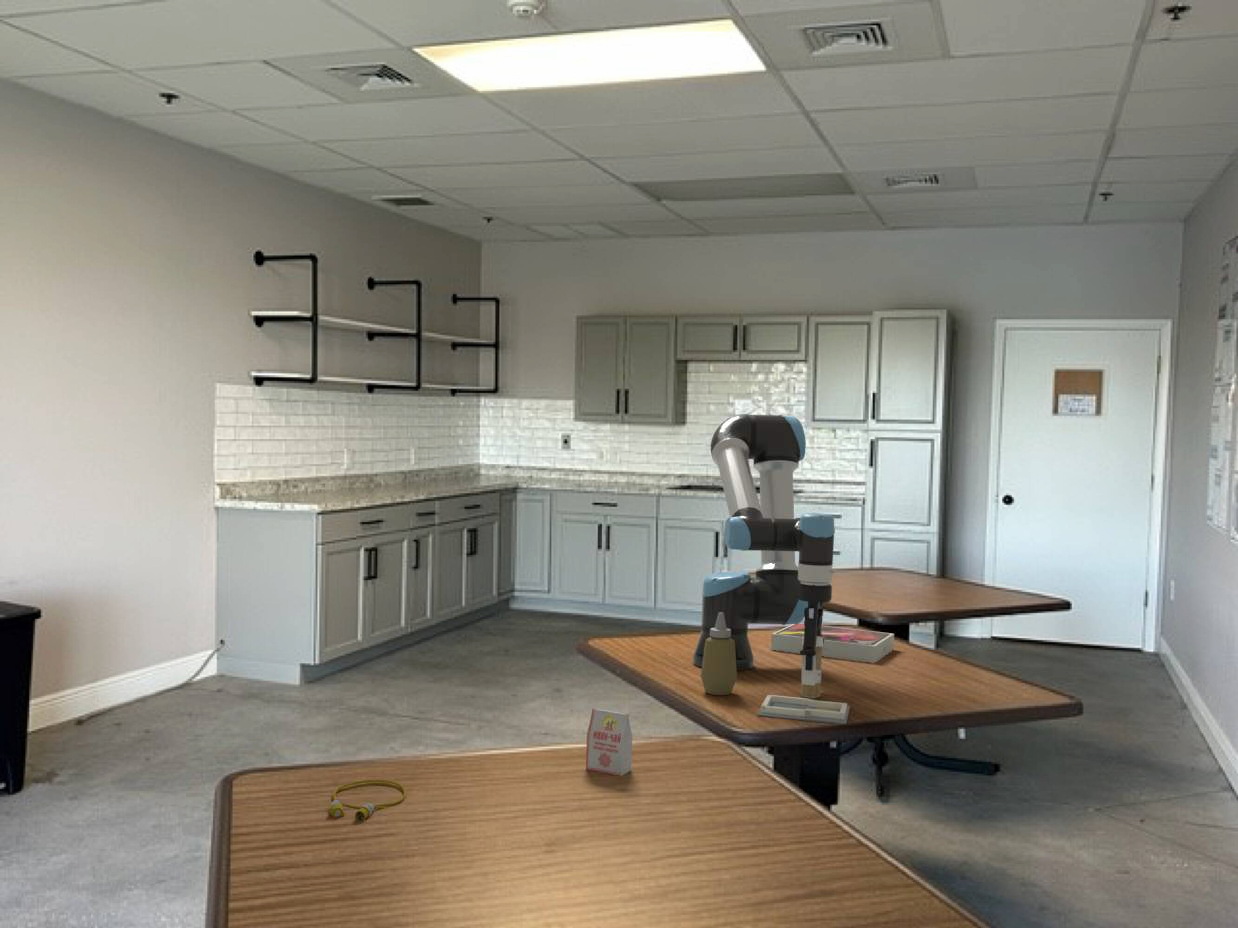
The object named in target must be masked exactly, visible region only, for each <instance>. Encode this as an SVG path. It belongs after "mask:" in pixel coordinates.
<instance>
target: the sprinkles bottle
mask: <svg viewBox="0 0 1238 928" xmlns="http://www.w3.org/2000/svg"><path fill="white" fill-rule="evenodd" d="M803 643H804V636H803V638H802V645H803ZM822 646H823V638H822V637H820V636H817V640H816V650H815V652H816V654H815V655H816V670H815V685H804V684H802V683H801V690H800V691H801V692H800V696H801V697H802V698H808V699H814V700H816V699H819V698H820V697H821V696H822V694H821V693H822V692H821V689H822V688H821V685H822V663H823V662H822V658H823V657H822ZM801 656H802V658H801V674H802V673H803V655H801ZM800 681H801V682H802V675H801V679H800Z"/></svg>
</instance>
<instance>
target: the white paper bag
mask: <svg viewBox="0 0 1238 928" xmlns="http://www.w3.org/2000/svg"><path fill="white" fill-rule="evenodd" d="M629 717H630V715H629V713H627V714H626V713H622V712H617V711H611V710H605V709H600V708H599V709H597V708H592V709H591V715H590V719H589V725H588V729H587V733H586V749H585V750H586V751H585V752H586V753H585V756H586V757H585V770H589V771H594V772H599V773H603V774H608V775H613V776H618V777H622V776H624V775H626V774H628V773H629V772H631V771H632V758H633V757H632V752H633V750H632V749H633V734H632V729H631V724H630V719H629Z"/></svg>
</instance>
